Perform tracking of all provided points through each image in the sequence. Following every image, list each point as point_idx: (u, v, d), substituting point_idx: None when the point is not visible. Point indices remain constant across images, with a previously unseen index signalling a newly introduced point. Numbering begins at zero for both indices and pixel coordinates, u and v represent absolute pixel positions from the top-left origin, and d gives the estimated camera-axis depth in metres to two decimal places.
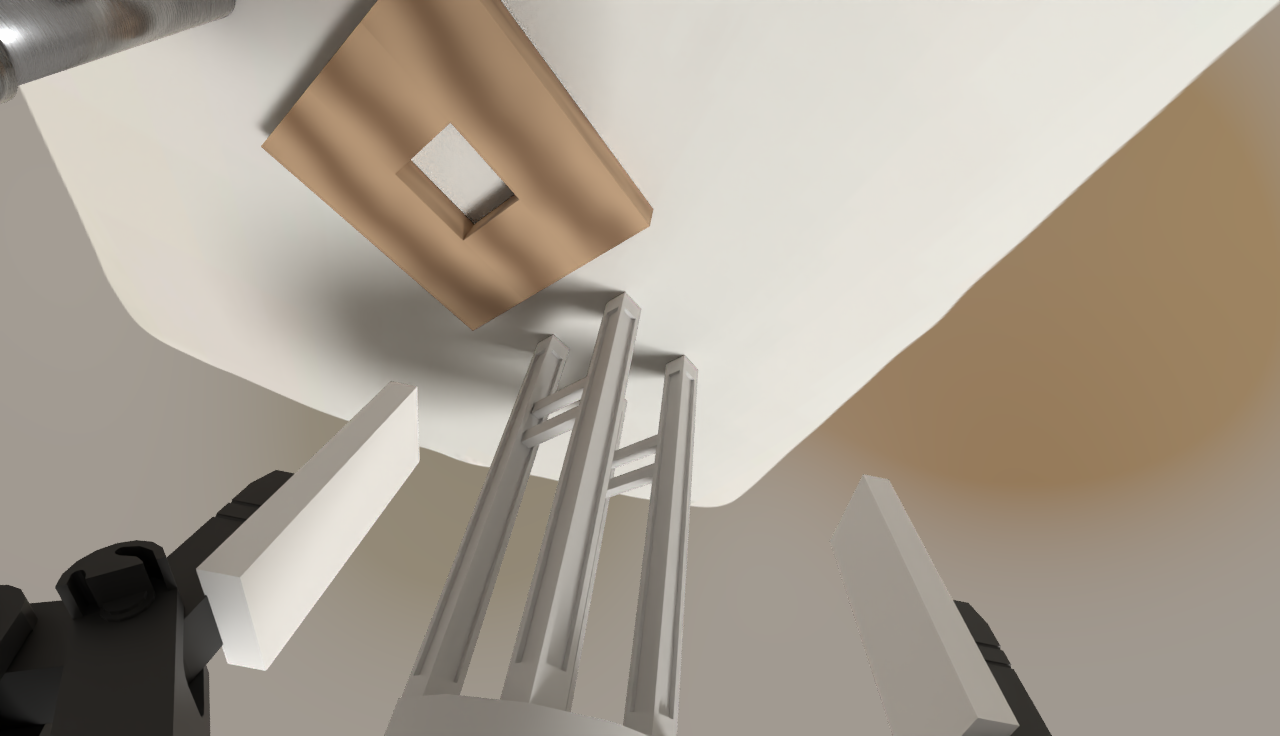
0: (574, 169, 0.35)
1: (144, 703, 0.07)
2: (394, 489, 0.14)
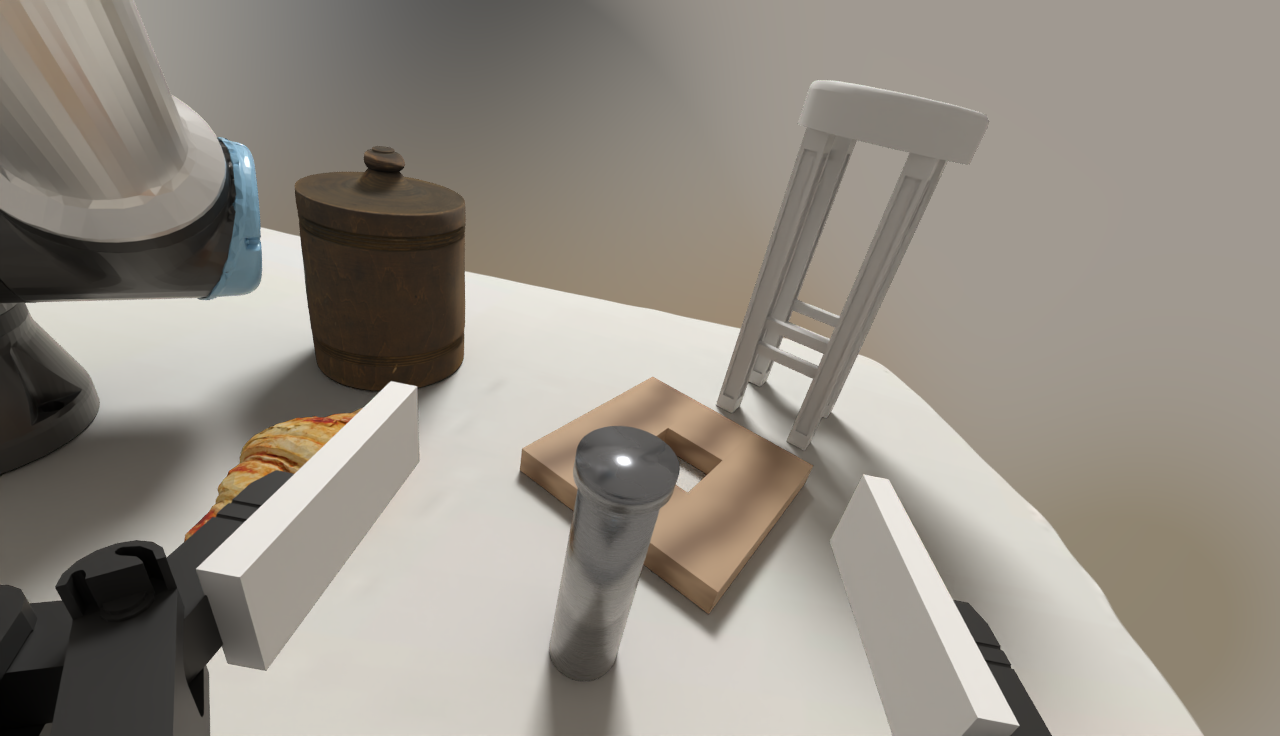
0: (633, 403, 0.54)
1: (144, 703, 0.07)
2: (394, 489, 0.14)
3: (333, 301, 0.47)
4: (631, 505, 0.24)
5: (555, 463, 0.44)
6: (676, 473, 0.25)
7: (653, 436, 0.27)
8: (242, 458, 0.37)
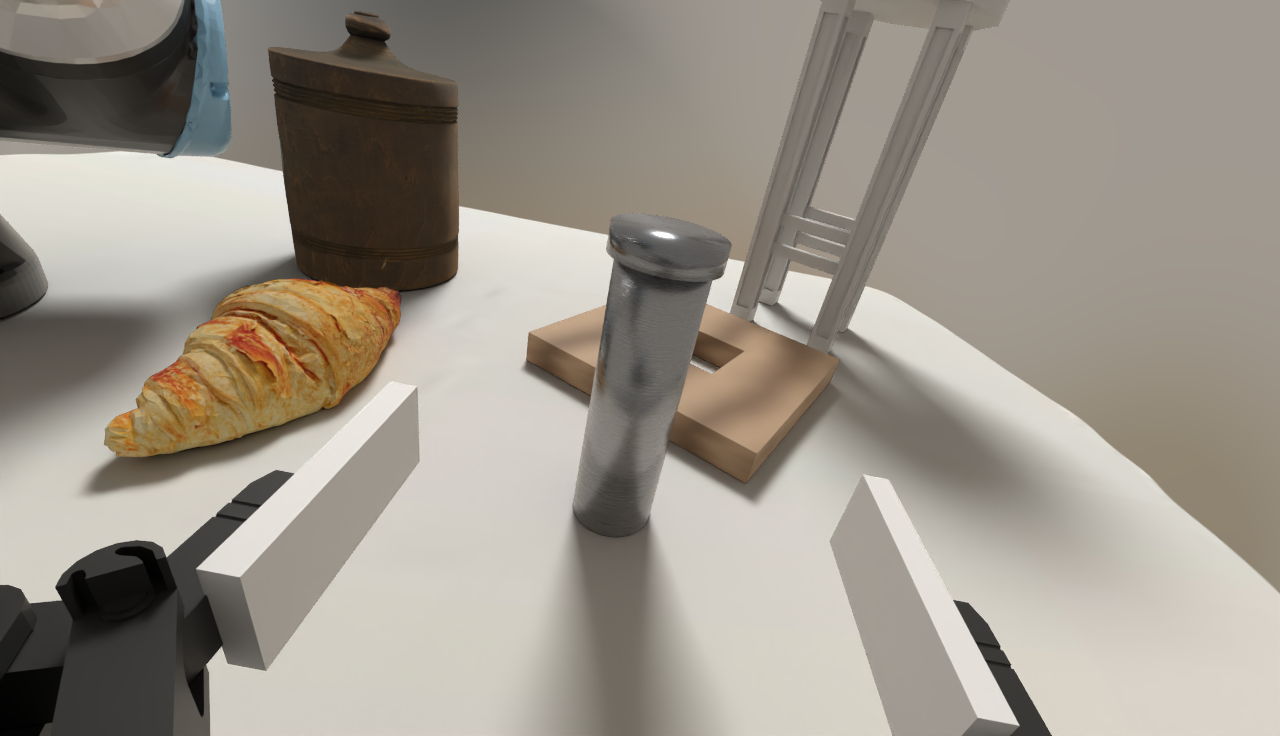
0: None
1: (144, 703, 0.07)
2: (394, 489, 0.14)
3: (314, 180, 0.42)
4: (681, 265, 0.20)
5: (565, 344, 0.40)
6: (728, 245, 0.21)
7: (695, 224, 0.24)
8: None
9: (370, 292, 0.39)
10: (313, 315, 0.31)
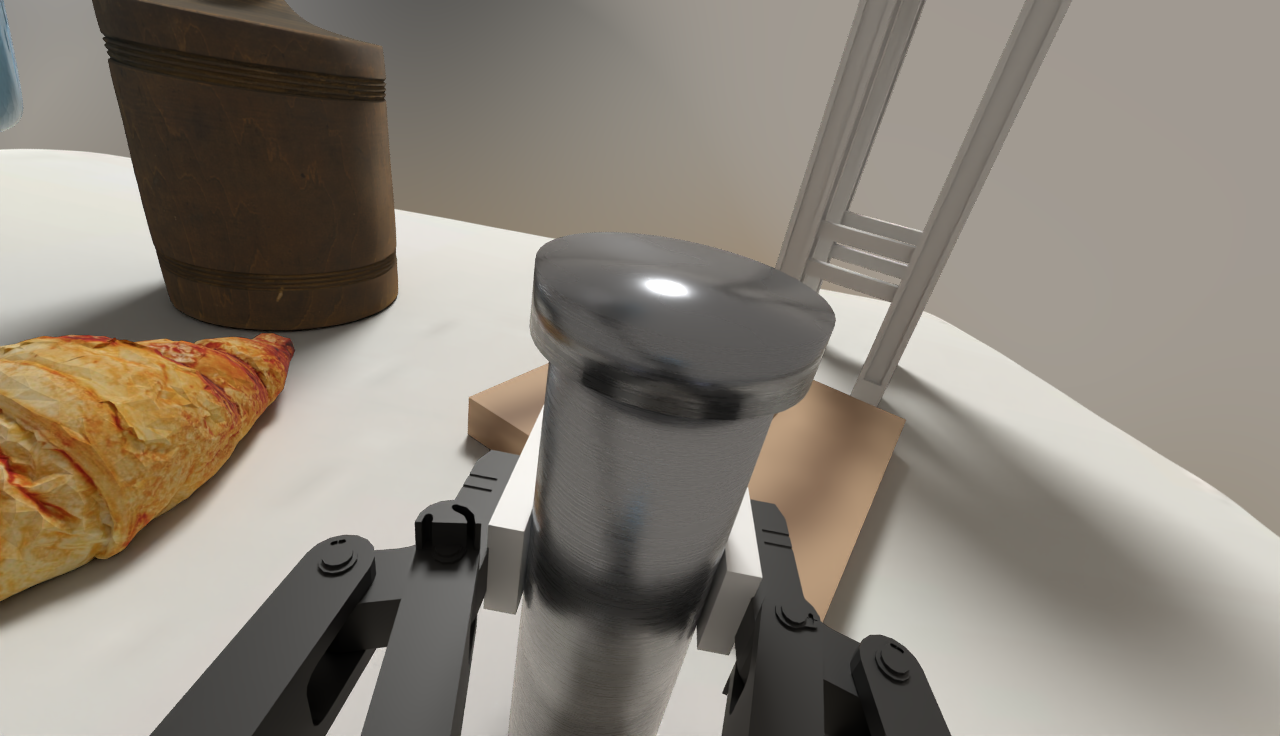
0: None
1: (446, 642, 0.09)
2: None
3: (166, 179, 0.30)
4: (719, 383, 0.07)
5: (521, 416, 0.27)
6: (827, 311, 0.09)
7: (734, 255, 0.11)
8: None
9: (234, 345, 0.26)
10: (69, 405, 0.18)
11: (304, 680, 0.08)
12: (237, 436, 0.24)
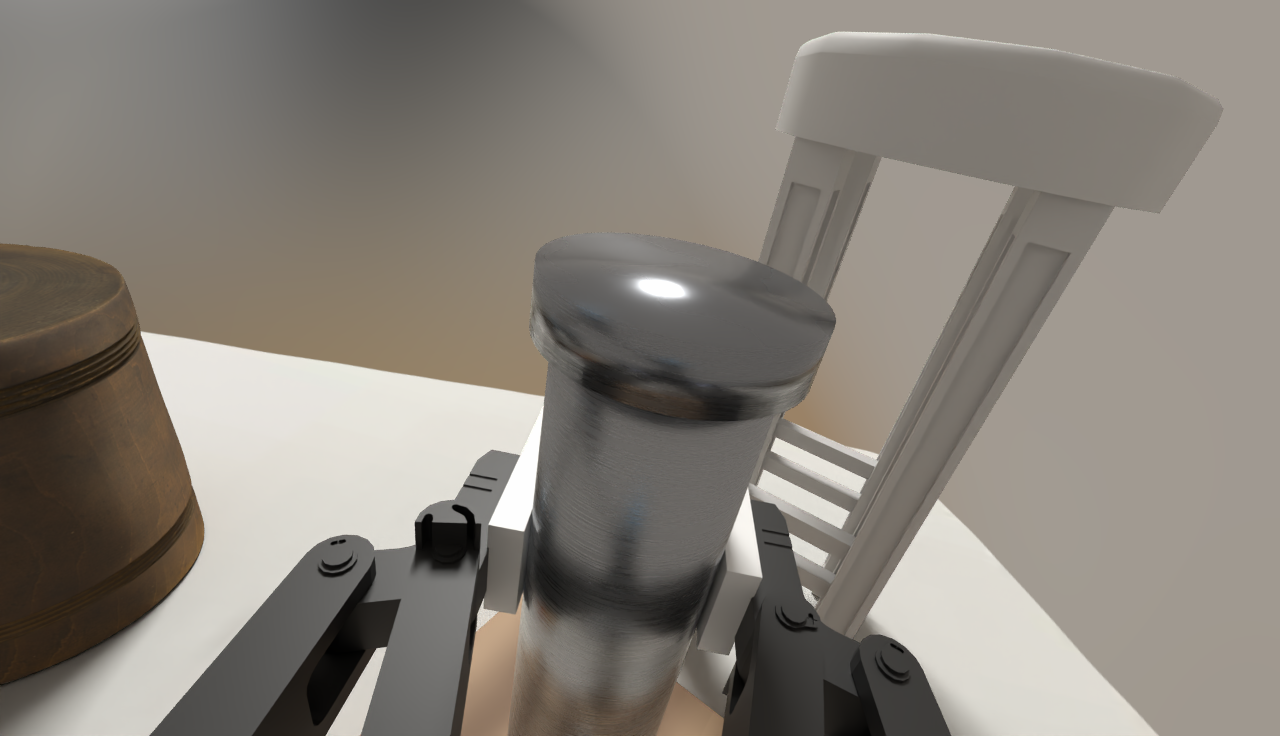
0: (485, 665, 0.28)
1: (446, 642, 0.09)
2: None
3: None
4: (718, 384, 0.07)
5: None
6: (827, 312, 0.09)
7: (735, 255, 0.11)
8: None
9: None
10: None
11: (304, 679, 0.08)
12: None
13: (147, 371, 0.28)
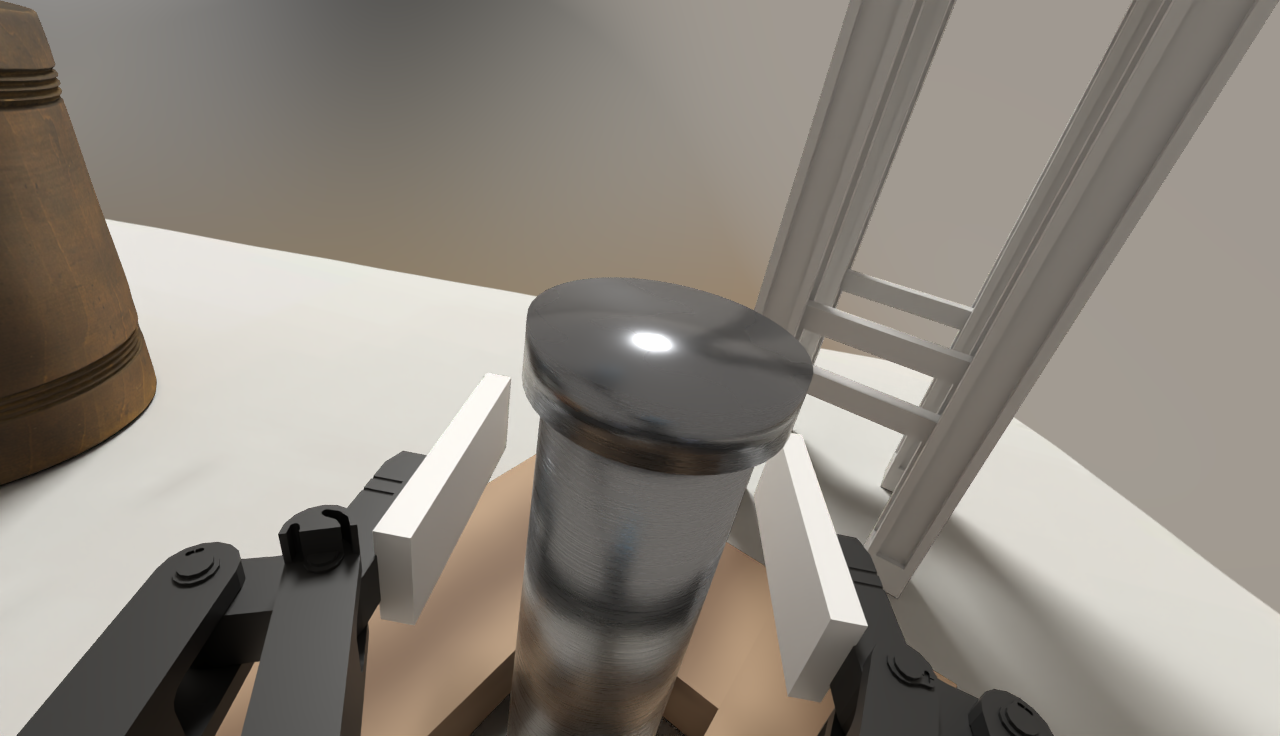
0: (495, 518, 0.22)
1: (327, 652, 0.08)
2: (491, 471, 0.16)
3: None
4: (699, 443, 0.07)
5: None
6: (806, 363, 0.09)
7: (721, 298, 0.11)
8: None
9: None
10: None
11: (169, 695, 0.08)
12: None
13: (69, 142, 0.22)
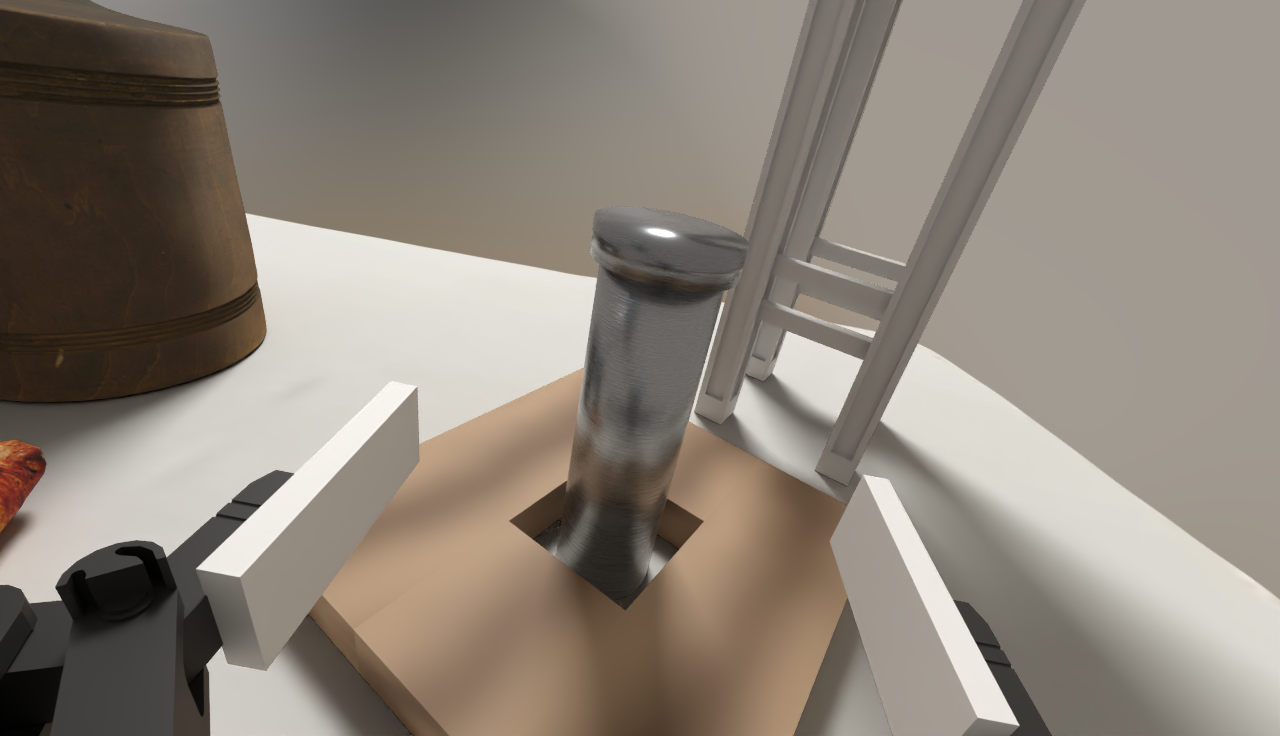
0: (541, 412, 0.30)
1: (144, 703, 0.07)
2: (394, 489, 0.14)
3: None
4: (685, 271, 0.15)
5: None
6: (746, 245, 0.17)
7: (702, 220, 0.19)
8: None
9: None
10: None
11: None
12: None
13: (226, 131, 0.30)
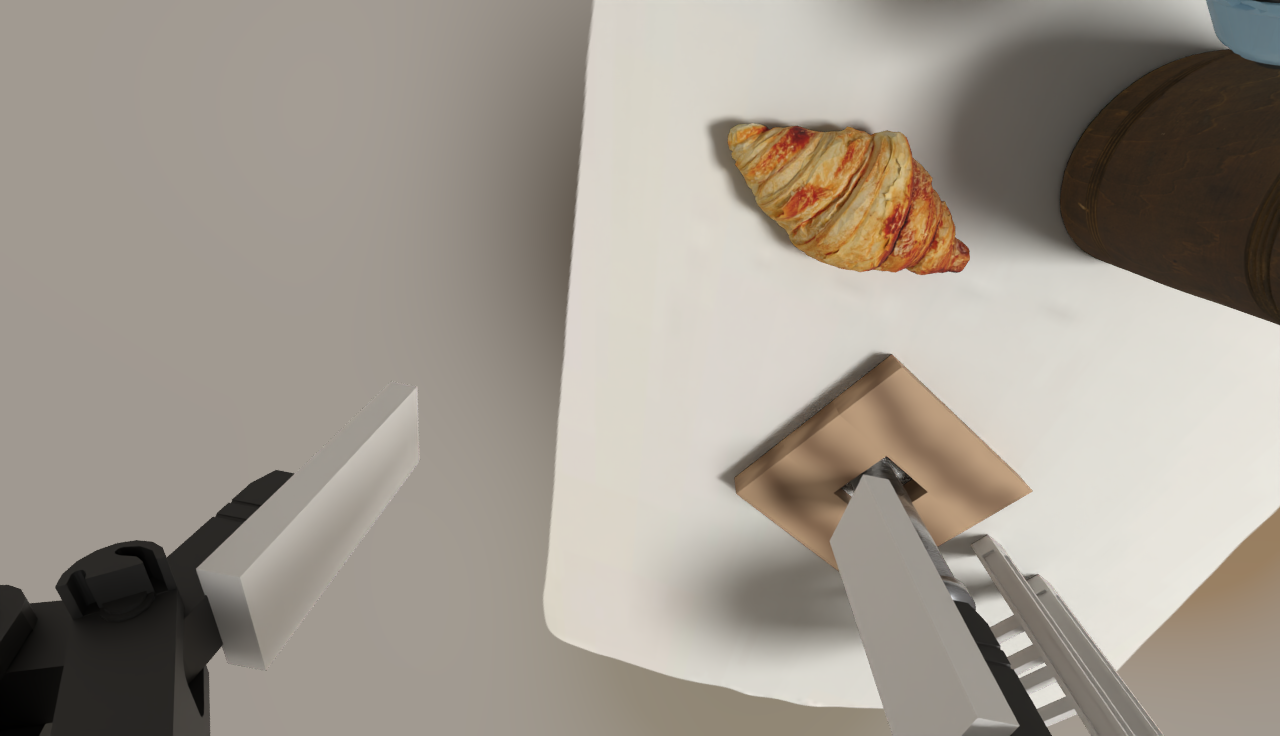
0: (976, 466, 0.49)
1: (144, 703, 0.07)
2: (394, 489, 0.14)
3: (1196, 135, 0.29)
4: None
5: (878, 395, 0.46)
6: None
7: None
8: (877, 142, 0.36)
9: (934, 254, 0.39)
10: (834, 238, 0.37)
11: None
12: None
13: None
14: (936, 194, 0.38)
